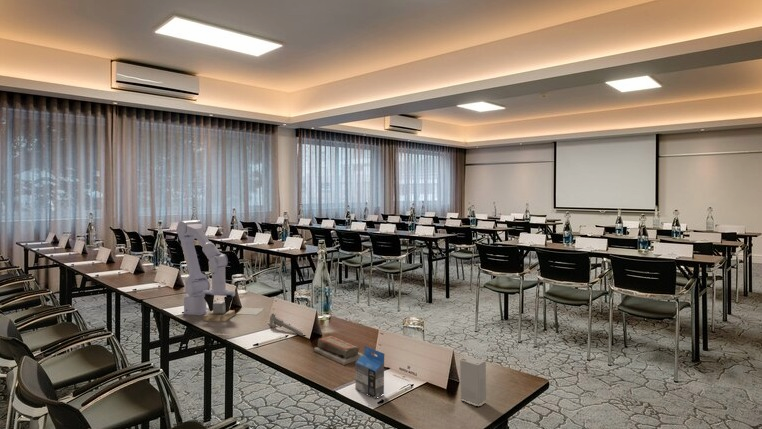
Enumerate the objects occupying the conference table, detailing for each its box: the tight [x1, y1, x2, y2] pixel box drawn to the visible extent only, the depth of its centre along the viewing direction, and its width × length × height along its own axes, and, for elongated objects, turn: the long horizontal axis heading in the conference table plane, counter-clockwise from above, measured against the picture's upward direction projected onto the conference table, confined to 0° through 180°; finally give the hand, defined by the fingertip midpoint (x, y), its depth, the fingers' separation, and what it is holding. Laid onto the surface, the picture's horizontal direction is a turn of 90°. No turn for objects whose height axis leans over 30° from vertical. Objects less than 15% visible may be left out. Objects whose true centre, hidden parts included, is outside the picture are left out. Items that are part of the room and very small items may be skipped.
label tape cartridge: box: [354, 345, 385, 399], centre depth 129 cm, size 9×4×12 cm, turn 45°
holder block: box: [202, 309, 236, 322], centre depth 200 cm, size 10×10×2 cm
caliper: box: [269, 313, 303, 337], centre depth 183 cm, size 20×1×6 cm, turn 56°
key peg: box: [213, 300, 226, 315], centre depth 200 cm, size 4×4×7 cm
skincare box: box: [459, 355, 487, 405], centre depth 123 cm, size 6×4×12 cm
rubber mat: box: [235, 307, 265, 316], centre depth 210 cm, size 10×10×1 cm
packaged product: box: [313, 335, 364, 366], centre depth 158 cm, size 18×5×10 cm
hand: (219, 311), depth 200 cm, fingers open, 7 cm apart
